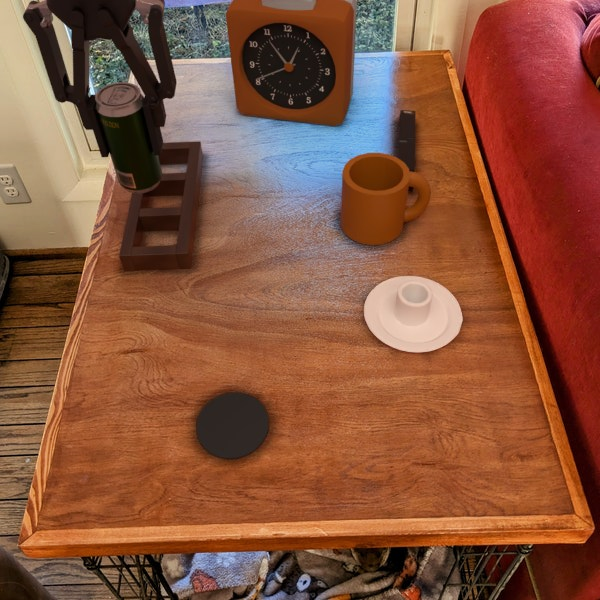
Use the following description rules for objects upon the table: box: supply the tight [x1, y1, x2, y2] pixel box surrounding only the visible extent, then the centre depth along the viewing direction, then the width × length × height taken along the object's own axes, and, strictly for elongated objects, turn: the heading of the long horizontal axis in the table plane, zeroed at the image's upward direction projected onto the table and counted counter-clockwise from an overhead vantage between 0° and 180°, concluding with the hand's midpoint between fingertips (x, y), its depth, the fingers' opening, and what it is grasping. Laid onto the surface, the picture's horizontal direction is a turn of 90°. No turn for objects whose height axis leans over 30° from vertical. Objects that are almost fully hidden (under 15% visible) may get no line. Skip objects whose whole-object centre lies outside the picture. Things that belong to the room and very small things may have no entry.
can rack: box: [118, 140, 204, 272], centre depth 90 cm, size 9×24×3 cm, turn 2°
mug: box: [340, 152, 432, 246], centre depth 85 cm, size 9×12×9 cm
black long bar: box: [396, 109, 416, 193], centre depth 97 cm, size 18×3×3 cm, turn 173°
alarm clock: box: [225, 0, 358, 127], centre depth 99 cm, size 18×9×21 cm, turn 77°
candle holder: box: [363, 275, 464, 353], centre depth 76 cm, size 12×12×4 cm
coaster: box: [195, 392, 270, 460], centre depth 69 cm, size 8×8×1 cm
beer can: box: [94, 81, 163, 194], centre depth 73 cm, size 5×5×12 cm
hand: (132, 148), depth 74 cm, fingers closed on beer can, 5 cm apart
